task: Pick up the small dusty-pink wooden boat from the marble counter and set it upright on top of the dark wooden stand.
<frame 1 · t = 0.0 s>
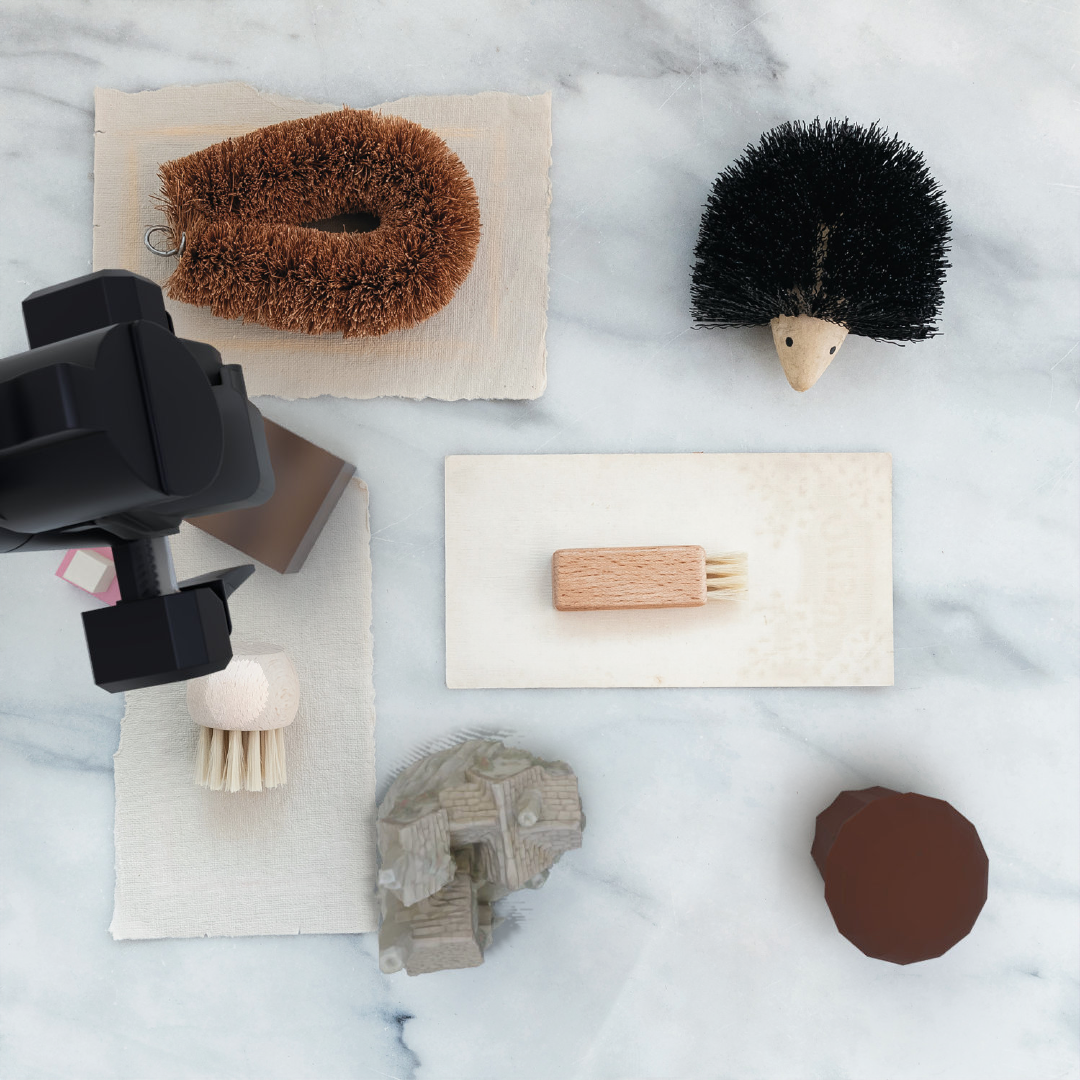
hand: (232, 488, 47), 17 cm above the countertop, tool pointing down, fingers open, 9 cm apart
brown faceted knob: (866, 843, 64), on the countertop
ceramic cottage: (478, 842, 64), on the countertop
boat: (126, 575, 63), on the countertop
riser: (278, 491, 64), on the countertop
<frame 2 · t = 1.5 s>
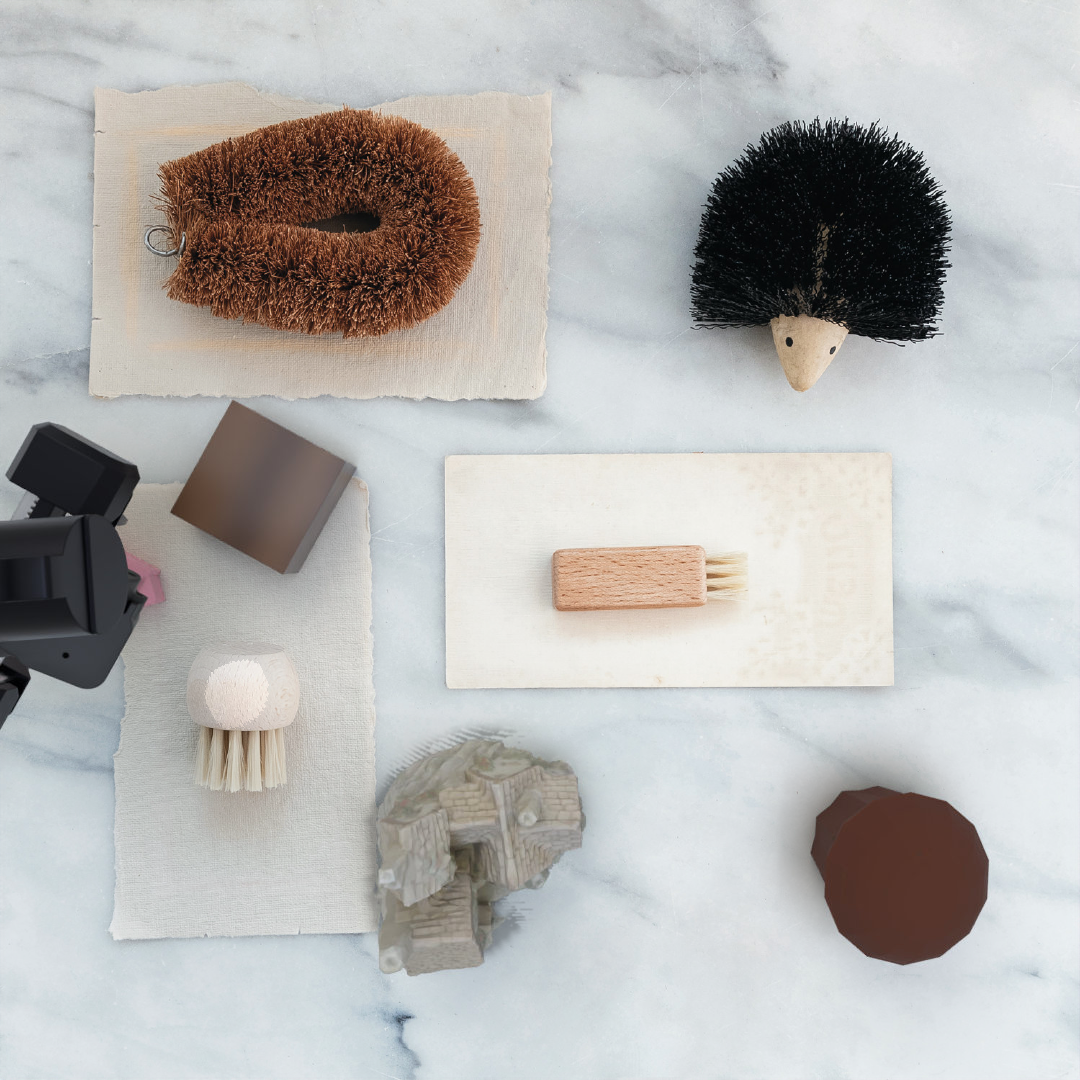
hand: (88, 577, 58), 5 cm above the countertop, tool pointing down, fingers open, 9 cm apart
nothing on the countertop moved.
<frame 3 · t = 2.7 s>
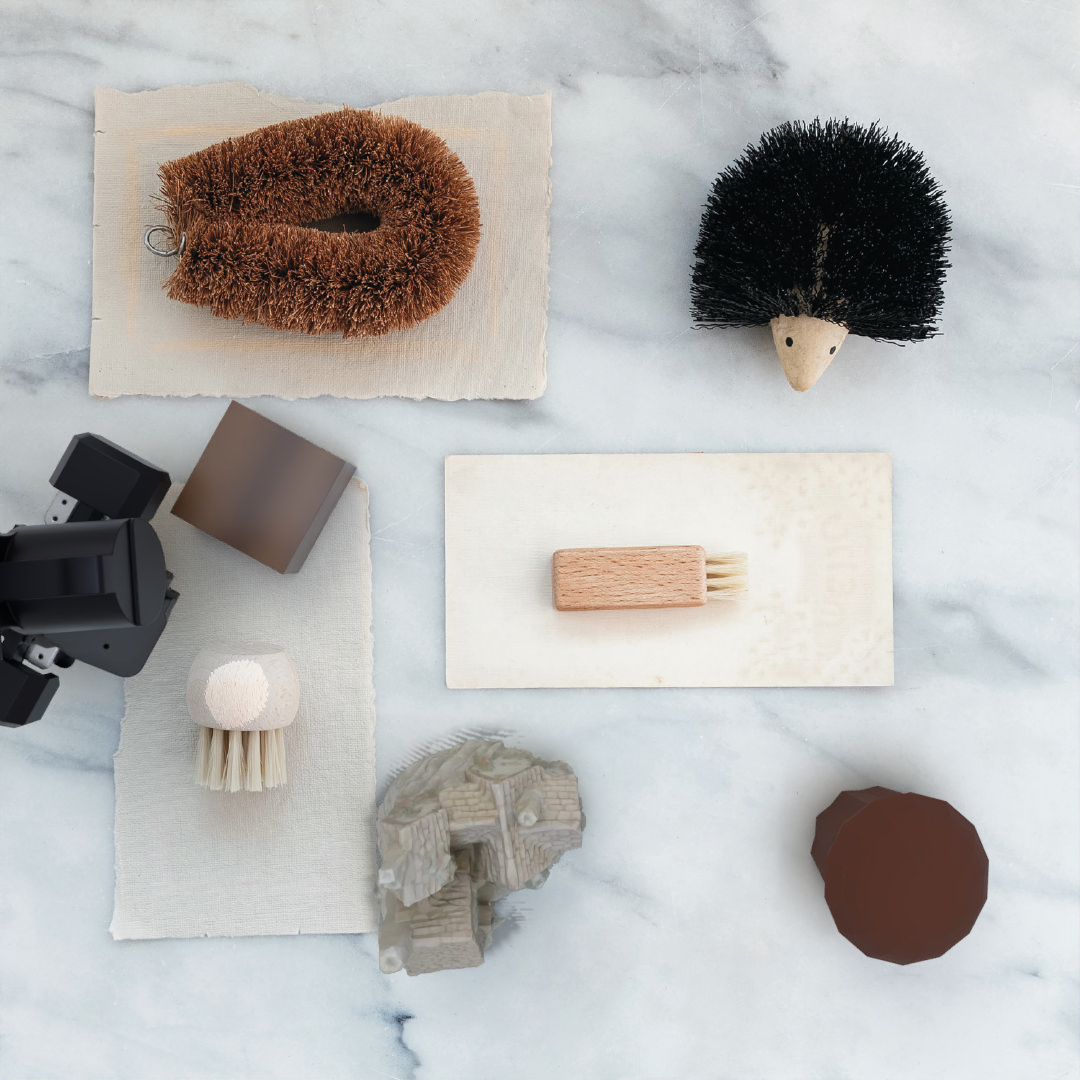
hand: (119, 575, 62), 1 cm above the countertop, tool pointing down, fingers closed on boat, 3 cm apart
boat: (126, 575, 63), on the countertop, touching gripper
everything else where it was.
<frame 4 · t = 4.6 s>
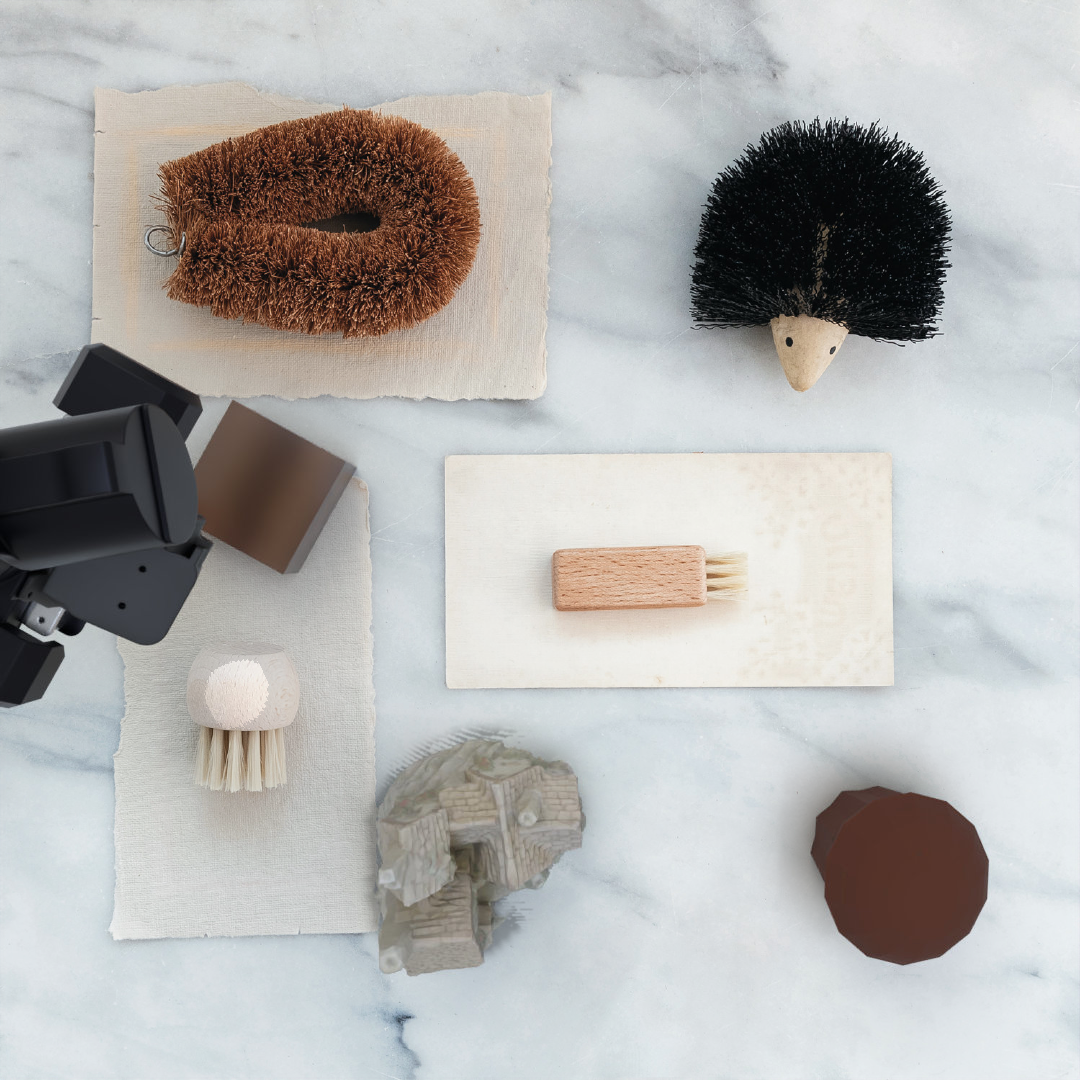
hand: (138, 529, 52), 11 cm above the countertop, tool pointing down, fingers closed on boat, 3 cm apart
boat: (146, 529, 53), point 10 cm above the countertop, touching gripper
everything else where it was.
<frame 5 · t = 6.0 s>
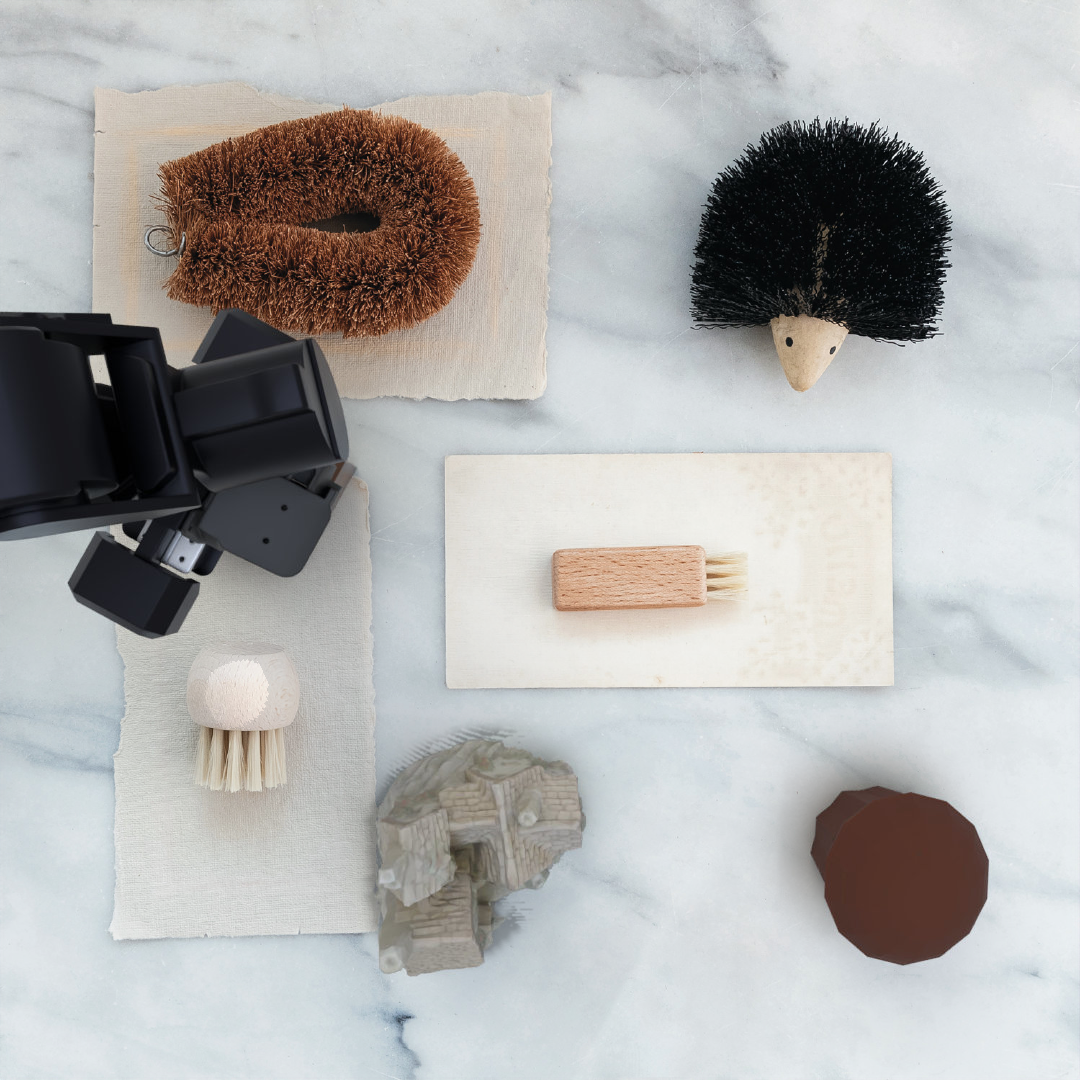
hand: (246, 484, 57), 7 cm above the countertop, tool pointing down, fingers closed on boat, 3 cm apart
boat: (252, 486, 57), point 6 cm above the countertop, touching gripper
everything else where it was.
when the fingers open (6 cm above the countertop, at t = 6.7 s): boat stays where it is, resting on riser.
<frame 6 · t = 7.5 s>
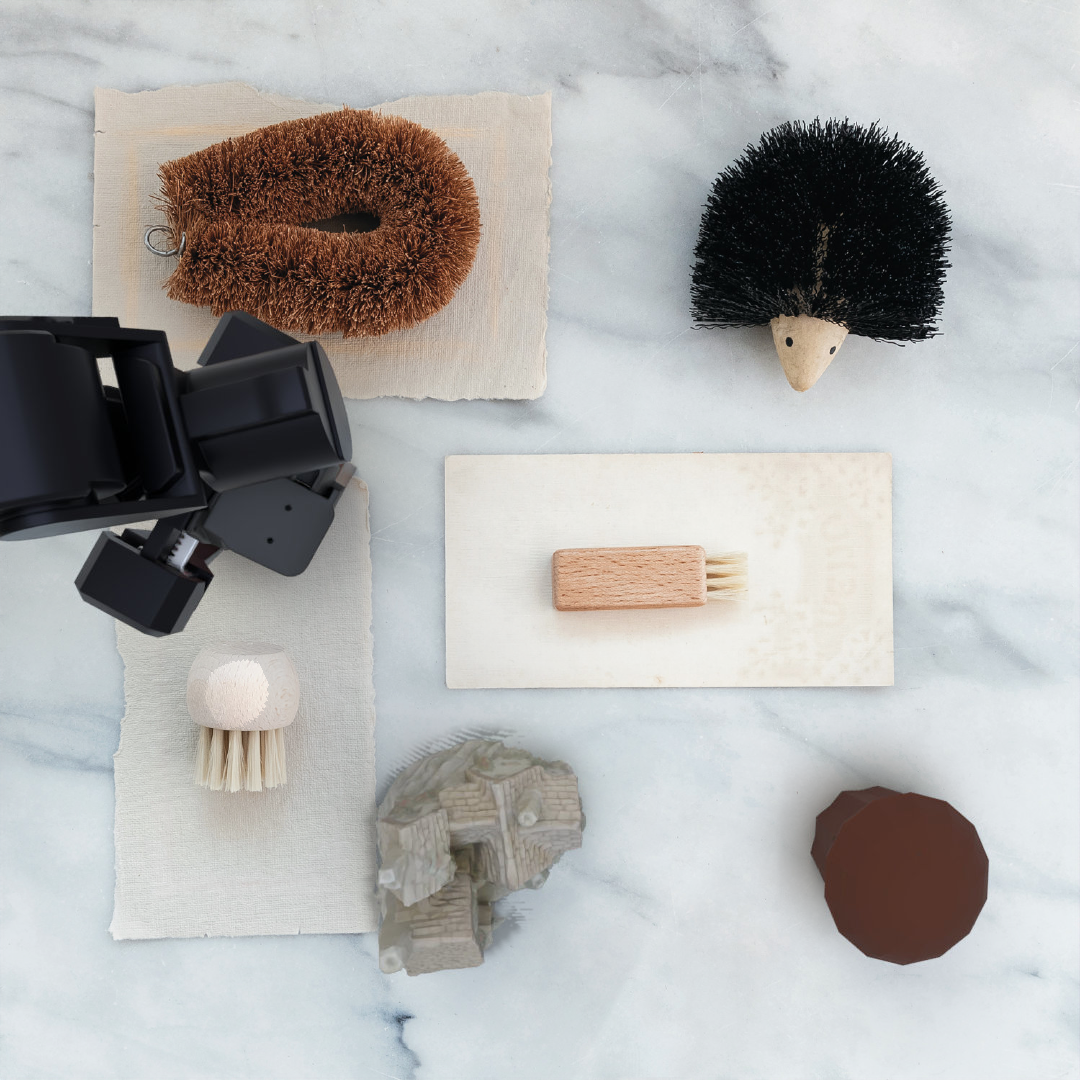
hand: (250, 485, 57), 7 cm above the countertop, tool pointing down, fingers open, 9 cm apart
boat: (257, 487, 59), point 5 cm above the countertop, touching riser
everything else where it was.
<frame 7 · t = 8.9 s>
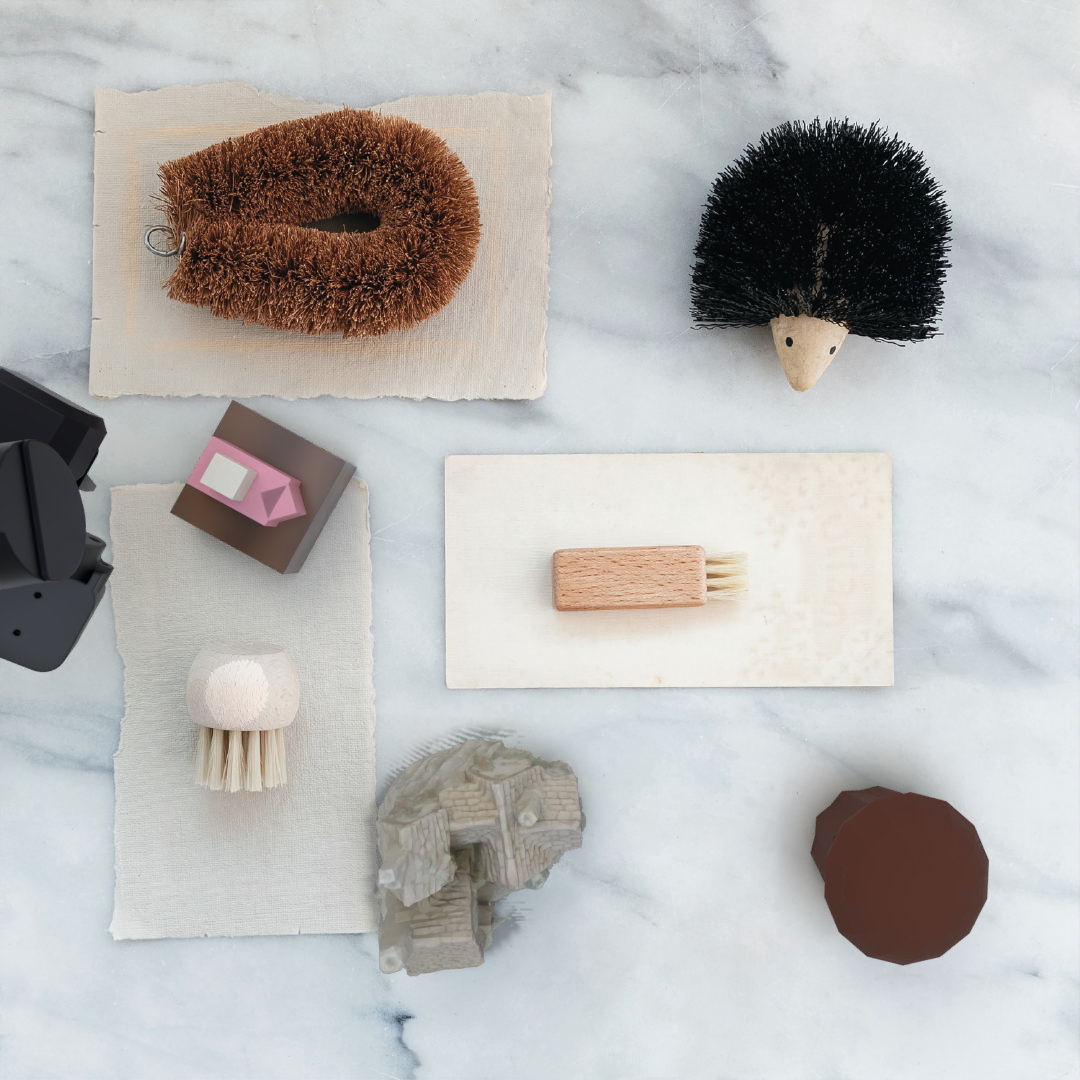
hand: (51, 550, 52), 12 cm above the countertop, tool pointing down, fingers open, 9 cm apart
nothing on the countertop moved.
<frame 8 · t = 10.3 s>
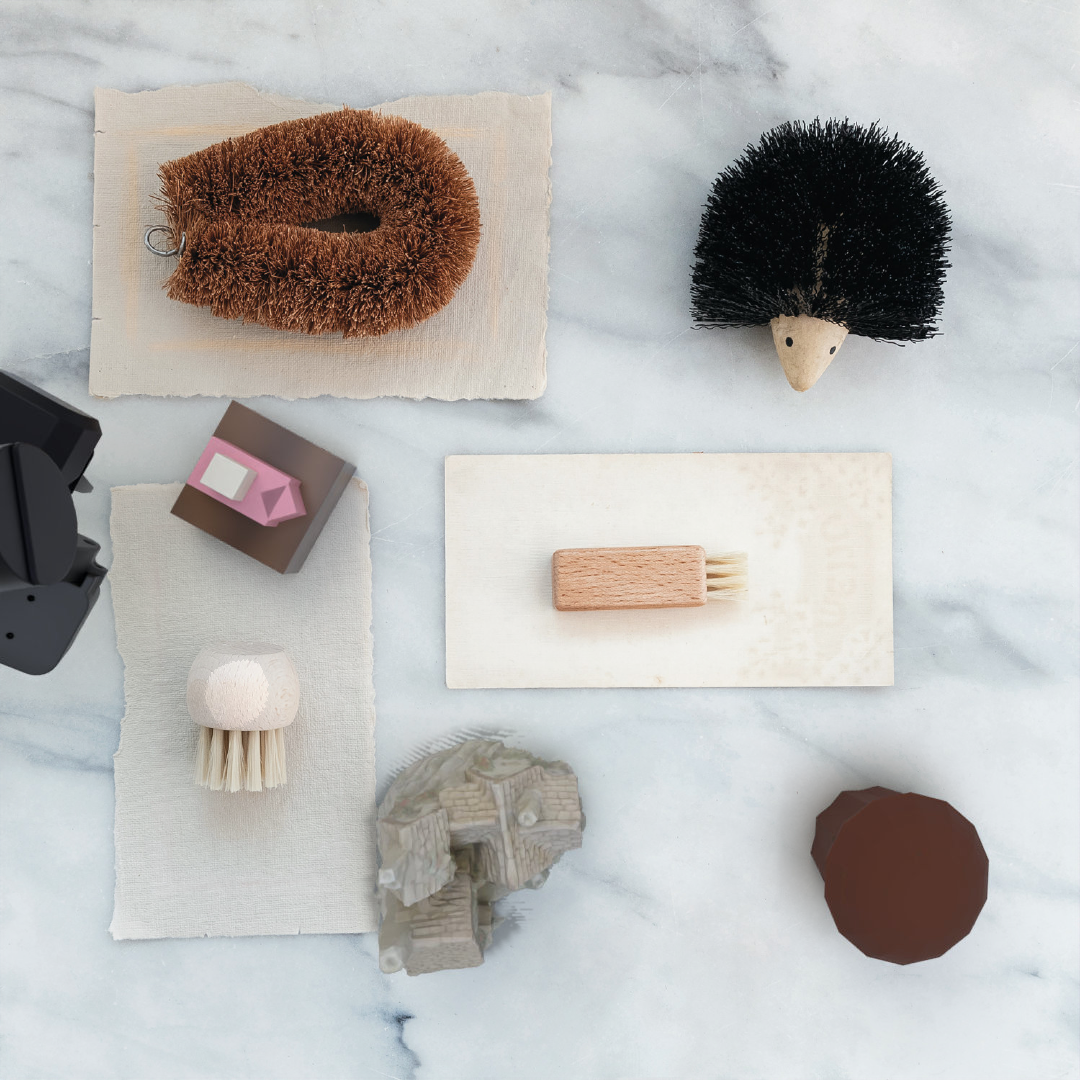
hand: (48, 552, 51), 12 cm above the countertop, tool pointing down, fingers open, 9 cm apart
nothing on the countertop moved.
at the end: boat 0.0 cm from the target spot, point 5.0 cm above the countertop; boat tilted 0°; the gripper is holding nothing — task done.
